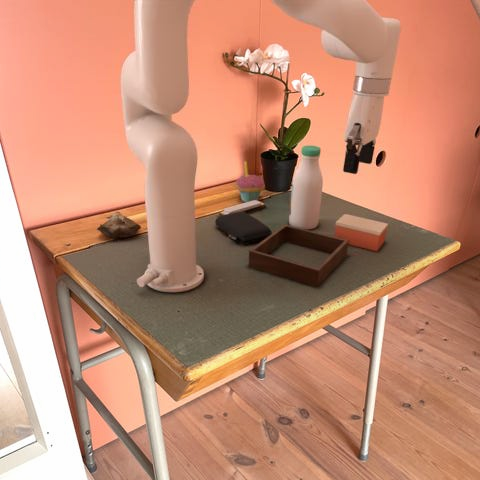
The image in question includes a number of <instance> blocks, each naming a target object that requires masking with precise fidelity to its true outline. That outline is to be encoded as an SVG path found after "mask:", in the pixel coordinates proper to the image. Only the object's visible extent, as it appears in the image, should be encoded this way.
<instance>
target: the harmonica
mask: <svg viewBox="0 0 480 480" xmlns="http://www.w3.org/2000/svg"><path fill="white" fill-rule="evenodd" d="M266 207H267V205H266V203H264V202H262V201H260V200H253V201H249V202H243V203H239V204H235V205H233V206H229V207H226V208H223V211H220V212H218V217H219V216H221V215H226V214H231V213H235V212H241V211H242V212H246V213H247V214H251V213H254V212H257V211H260V210H262V209H264V208H266Z"/></svg>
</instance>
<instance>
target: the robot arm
mask: <svg viewBox="0 0 480 480" xmlns="http://www.w3.org/2000/svg"><path fill="white" fill-rule="evenodd" d="M195 1H196V0H134V3H133V4H134V5H133V25H134V50H133V51H132V52H131V53H130V54H129V55H128V56H127V57H126V59H125V60H124V62H123V64H122V68H121V71H120V92H121V93H120V94H121V104H122V113H123V122H124V131H125V138H126V142H127V145H128V148H129V150H130V152H131V153H132V154H133V155H134V157H135V158H136V159H137V160H139V161H140V163H142V164H143V165H144V168H145V179H144V180H145V181H144V182H145V184H144V205H145V215H146V225H147V227H146V228H147V238H148V239H147V240H148V250H149V262H150V263H149V264H147V268H146V270H145V271H144V273H143V275H141V276H140V277H137V279H136V284H137V286H139V287H140V288H144V287H145V286H146V285H147V286H148V287H149V288H151V289H152V290H155V291H158V292H163V293H182V292H187V291H190V290H193V289H195V288H197V287H198V286H199V285H201V284H202V282H203V281H204V279H205V273H204V269H203V268H202V267H201V266H200V265H198V264H197V241H196V239H197V237H196V236H197V235H196V234H197V233H196V207H195V205H196V204H195V184H196V176H197V175H196V174H197V168H198V149H197V148H198V147H197V145H196V143H195V140H194V138H193V137H192V135H191V134H190V133H189V132H188V131H187V129H185V128H184V127H183V126H182V125H180V124H178V123H177V122H175V121H173V118H172V115H175V114H177V113H179V112H181V110H183V108H184V107H185V106H186V105H187V102H188V99H189V95H190V94H189V93H190V77H189V76H190V75H189V56H188V54H189V52H188V51H189V50H188V28H189V27H188V25H189V18H190V17H189V16H190V13H191V9H192V8H193V4H194V2H195ZM270 1H271V2H272V3H273V4H274V5H276V7H277V8H278V9H280V10H281V12H283V13H284V14H285V15H287V16H289V17H291V18H293V19H295V20H296V21H298V22H302V23H304V24H307V25H310V26H313V27H315V28H318V29H321V30H322V31H321V34H320V41H321V46H322V49H323V50H324V51H325V53H327V54H328V55H329V56H331V57H332V58H335V59H340V60H345V61H352V62H356V66H355V72H354V80H353V85H352V93H353V96H352V98H351V99H352V100H351V103H350V108H349V112H348V116H347V121H346V126H345V131H344V138H343V140H344V142H345V143H346V145H345V148H346V149H345V151H344V153H345V155H344V161H343V168H342V171H343V172H344V173H347V174H353V175H357V174H358V171H359V166H360V163H362V164H367V165H371V164H372V163H373V158H374V153H375V146H376V142H377V140H376V139H377V137H378V135H379V132H380V127H381V123H382V117H383V109H384V104H385V97H387V96H389V94H390V88H391V83H392V79H393V78H392V77H393V72H394V67H395V64H396V63H395V62H396V58H397V52H398V47H399V42H400V38H401V37H400V36H401V32H402V31H401V30H402V24H401V21H400V20H399V19H397V18H392V17H382V16H381V15H380V14H379V13H378V12H377V10H375V8H374V7H373V6H372V5H371V4H370V3H369V2H368V1H367V0H270Z"/></svg>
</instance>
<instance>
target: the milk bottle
mask: <svg viewBox="0 0 480 480" xmlns="http://www.w3.org/2000/svg"><path fill="white" fill-rule="evenodd" d="M300 151H301V154H300V157H301V160H300V162H299V165H298V167H297V169H296V170H295V172H294V176H293V179H292V184H291V185H292V186H291V194H290V203H289V204H290V205H289V217H288V223H289V225H290V226H294V227H298V228H302V229H306V230H312V229H315V228H316V227H318V225H319V222H320V221H319V219H320V213H321V212H320V211H321V205H322V195H323V186H324V185H323V184H324V183H323V181H324V179H323V174H322V171H321V168H320V163H319V159H320V158H321V156H320V155H321V147H320V146H317V145H312V144H311V145H310V144H309V145H303V146H302V147H301V150H300Z"/></svg>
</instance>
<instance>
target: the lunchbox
mask: <svg viewBox="0 0 480 480" xmlns="http://www.w3.org/2000/svg"><path fill="white" fill-rule="evenodd" d="M388 227H389V223H387V222H382V221H378V220H374V219H369V218H366V217H360V216H356V215H351V214H348V213H344V214H343V215H342V216H341V217H340V218H338V219H337V220H336V221H335V230H334V237H338V238H342V239H346V240H349V244H348V245H350V246H354V247H358V248H362V249H366V250H369V251H373V252H377V251H379V249H380V248H381V247H382V245H384V243H385V239H386V234H387V230H388Z"/></svg>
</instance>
